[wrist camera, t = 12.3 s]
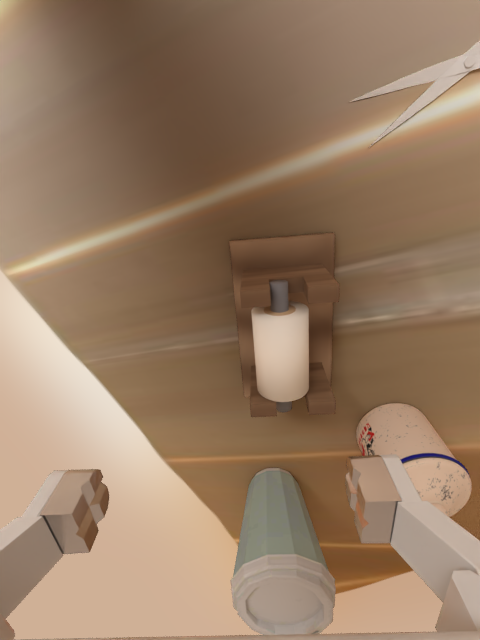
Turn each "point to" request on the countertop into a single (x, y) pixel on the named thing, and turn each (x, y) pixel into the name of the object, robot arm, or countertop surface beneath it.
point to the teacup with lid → (416, 454)
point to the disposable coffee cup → (280, 561)
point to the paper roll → (281, 347)
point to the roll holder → (303, 286)
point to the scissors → (440, 72)
